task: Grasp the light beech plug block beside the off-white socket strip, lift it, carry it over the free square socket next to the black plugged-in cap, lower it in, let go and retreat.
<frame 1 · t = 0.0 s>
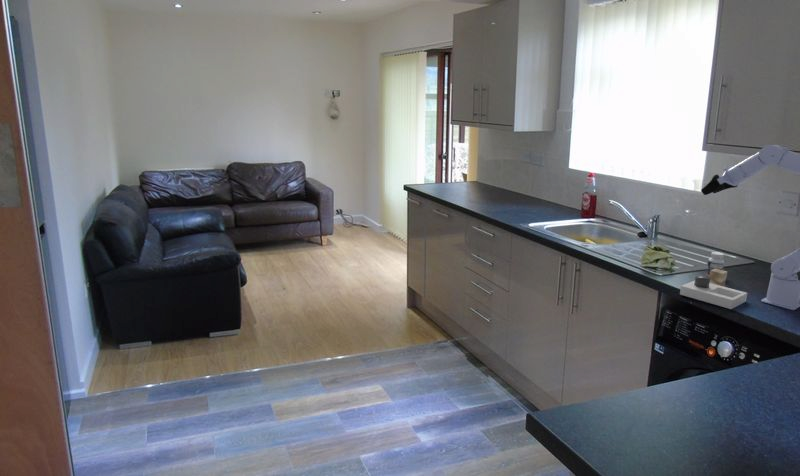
hand: (707, 191, 197), 32 cm above the worktop, tool tilted 50°, fingers open, 7 cm apart
pill bottle: (713, 276, 211), on the worktop
plug block: (715, 287, 198), on the worktop
socket strip: (712, 297, 187), on the worktop
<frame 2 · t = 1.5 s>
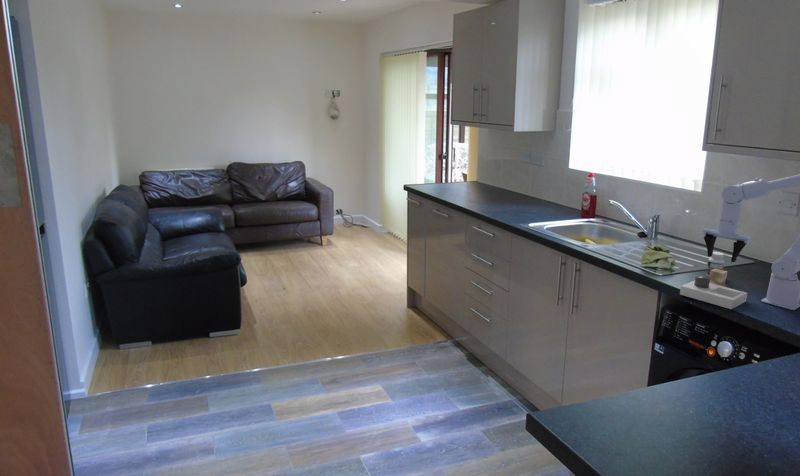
hand: (721, 258, 196), 10 cm above the worktop, tool pointing down, fingers open, 7 cm apart
nothing on the worktop moved.
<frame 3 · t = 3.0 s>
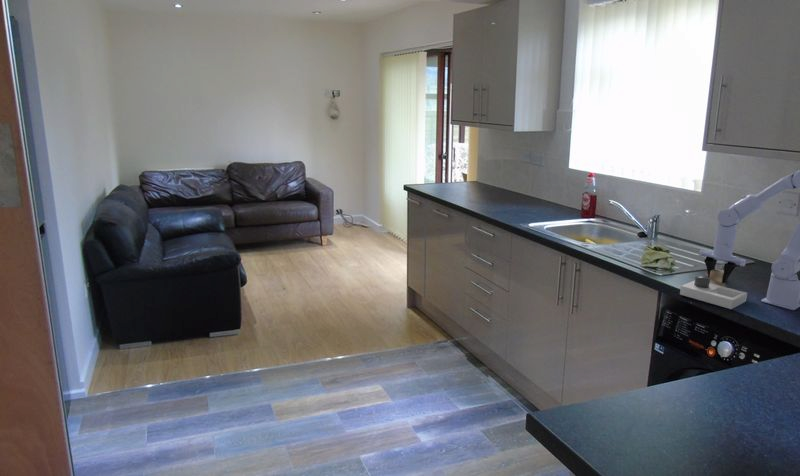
hand: (717, 280, 198), 2 cm above the worktop, tool pointing down, fingers closed on plug block, 4 cm apart
plug block: (715, 287, 198), on the worktop, touching gripper
everything else where it was.
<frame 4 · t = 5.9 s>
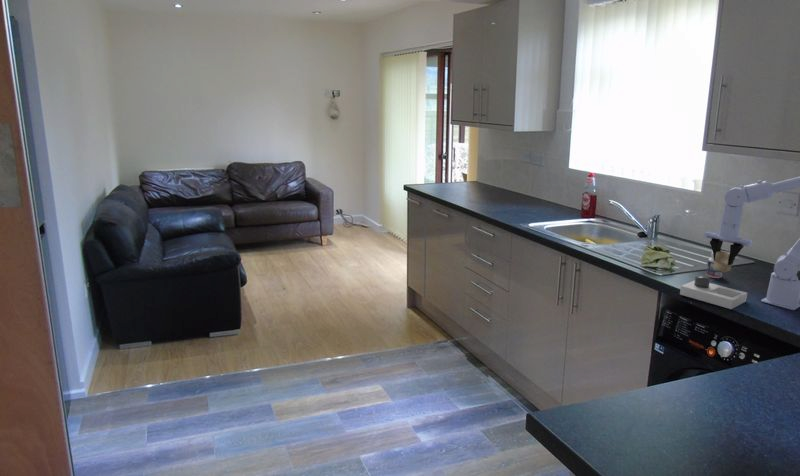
hand: (723, 262, 193), 10 cm above the worktop, tool pointing down, fingers closed on plug block, 4 cm apart
plug block: (721, 269, 193), point 7 cm above the worktop, touching gripper
everything else where it was.
when the fingers open (4 cm above the worktop, at t = 9.2 s): plug block drops 2 cm, resting in socket strip.
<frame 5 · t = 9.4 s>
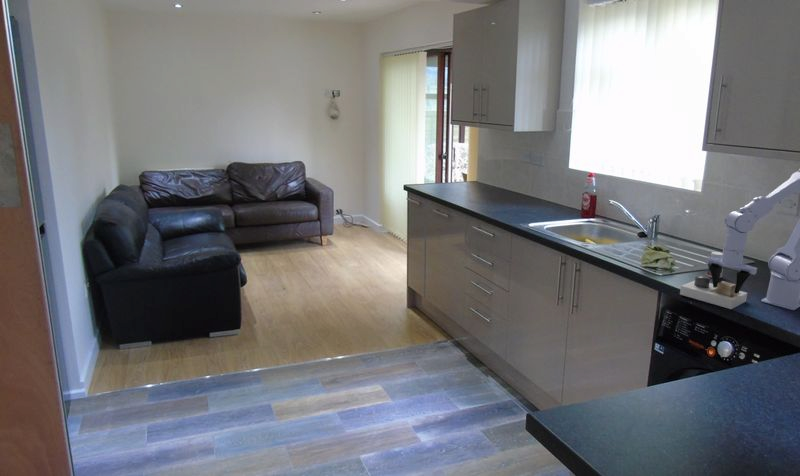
hand: (725, 289, 184), 4 cm above the worktop, tool pointing down, fingers open, 6 cm apart
plug block: (723, 301, 185), resting in socket strip
everything else where it was.
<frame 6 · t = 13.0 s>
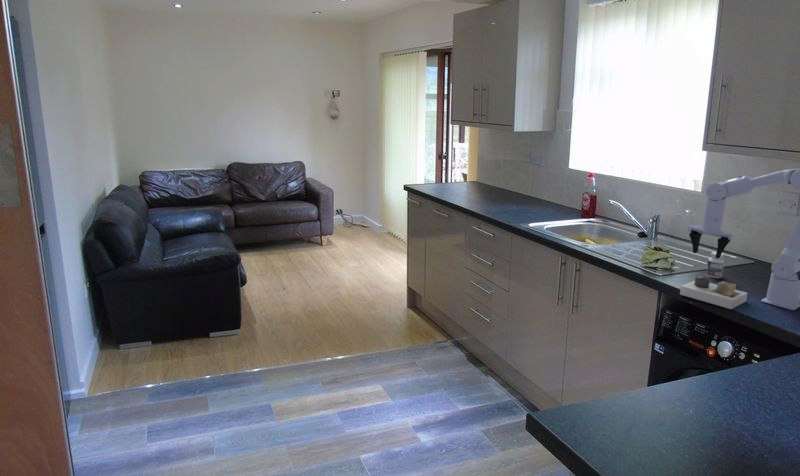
hand: (706, 255, 199), 10 cm above the worktop, tool pointing down, fingers open, 7 cm apart
nothing on the worktop moved.
at the end: plug block 0.0 cm from the target spot on the socket strip, point 0.0 cm above the socket strip's base; plug block tilted 0°; the gripper is holding nothing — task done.
